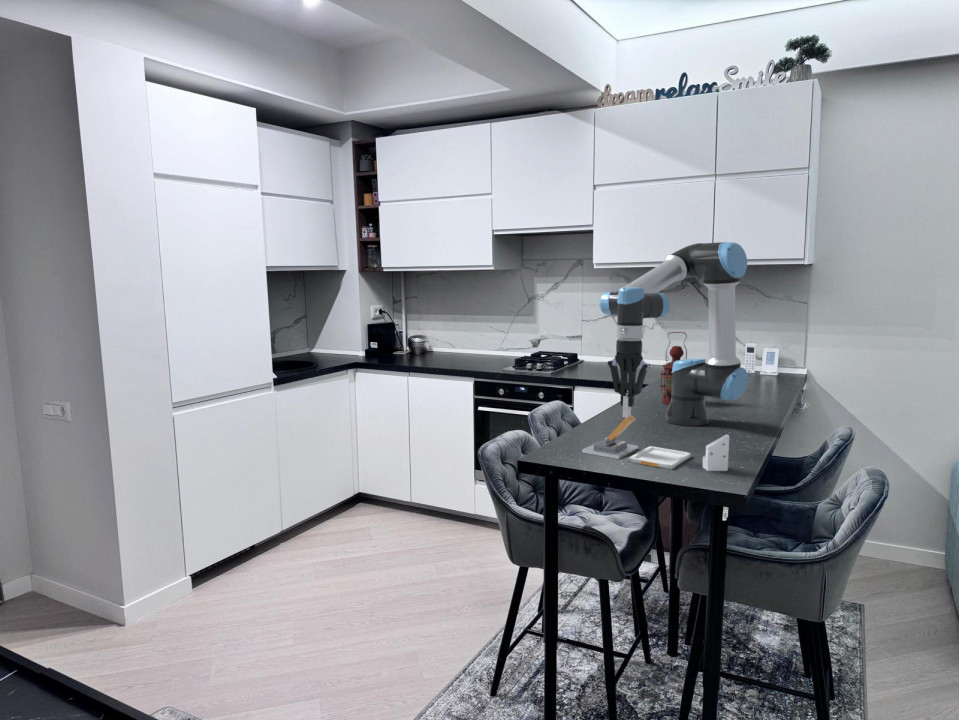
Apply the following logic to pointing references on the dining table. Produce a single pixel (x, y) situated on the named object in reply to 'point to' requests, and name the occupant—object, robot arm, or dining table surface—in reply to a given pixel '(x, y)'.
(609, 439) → the block
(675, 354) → the lantern
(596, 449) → the panel
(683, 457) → the tray
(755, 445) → the dining table surface
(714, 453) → the white wedge bracket
